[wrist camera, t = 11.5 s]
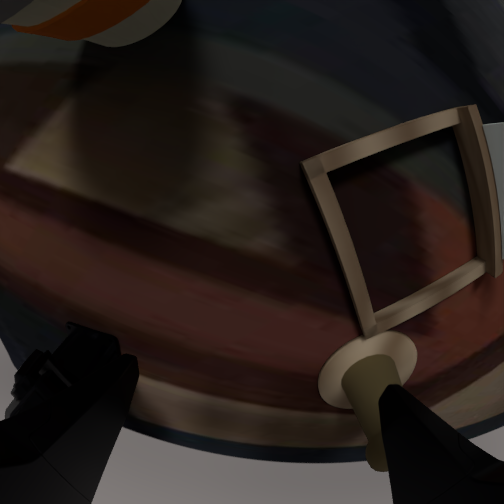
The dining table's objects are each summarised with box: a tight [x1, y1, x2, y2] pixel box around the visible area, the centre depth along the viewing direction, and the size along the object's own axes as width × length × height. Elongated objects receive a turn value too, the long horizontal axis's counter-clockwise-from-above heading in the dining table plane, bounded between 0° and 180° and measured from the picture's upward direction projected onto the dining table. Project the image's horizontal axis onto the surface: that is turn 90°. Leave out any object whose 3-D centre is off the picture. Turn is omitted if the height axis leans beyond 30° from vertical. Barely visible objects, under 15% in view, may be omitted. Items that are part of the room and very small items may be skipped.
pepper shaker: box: [341, 354, 402, 472], centre depth 19 cm, size 6×6×11 cm
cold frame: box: [299, 105, 504, 339], centre depth 14 cm, size 19×15×9 cm
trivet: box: [318, 330, 417, 409], centre depth 24 cm, size 11×11×1 cm
